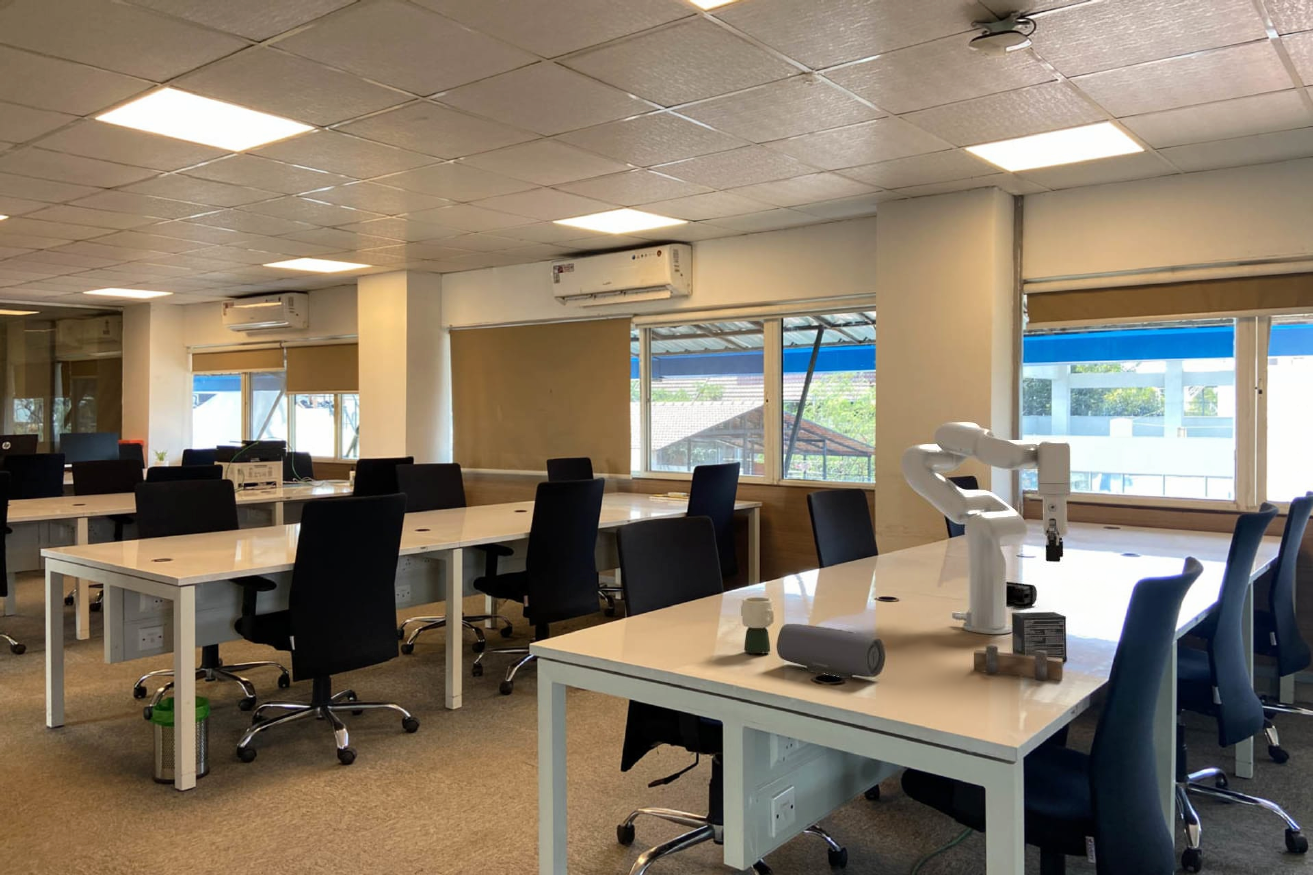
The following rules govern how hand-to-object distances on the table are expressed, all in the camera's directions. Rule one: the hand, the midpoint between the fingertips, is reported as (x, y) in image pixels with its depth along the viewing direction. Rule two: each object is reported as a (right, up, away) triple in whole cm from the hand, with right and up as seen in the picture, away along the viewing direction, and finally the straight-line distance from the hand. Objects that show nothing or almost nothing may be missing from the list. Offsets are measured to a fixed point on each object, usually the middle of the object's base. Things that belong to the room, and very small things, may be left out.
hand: (1054, 559), depth 226 cm
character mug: (-75, -22, -7) cm, 78 cm away
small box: (-9, -22, -13) cm, 27 cm away
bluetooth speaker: (-61, -22, -25) cm, 70 cm away
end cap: (+11, -22, +53) cm, 58 cm away
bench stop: (-20, -22, -27) cm, 40 cm away
